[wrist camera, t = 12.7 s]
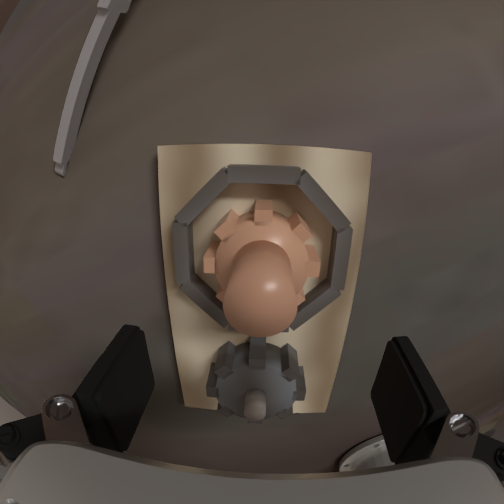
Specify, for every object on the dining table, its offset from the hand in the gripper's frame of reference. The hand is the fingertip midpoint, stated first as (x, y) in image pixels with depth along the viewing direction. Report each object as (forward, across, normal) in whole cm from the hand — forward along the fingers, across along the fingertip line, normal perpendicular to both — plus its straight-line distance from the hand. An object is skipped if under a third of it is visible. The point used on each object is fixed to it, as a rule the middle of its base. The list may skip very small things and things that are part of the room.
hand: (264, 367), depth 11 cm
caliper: (+12, +12, -16) cm, 23 cm away
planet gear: (+11, 0, -1) cm, 11 cm away
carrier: (+12, 0, +4) cm, 13 cm away
